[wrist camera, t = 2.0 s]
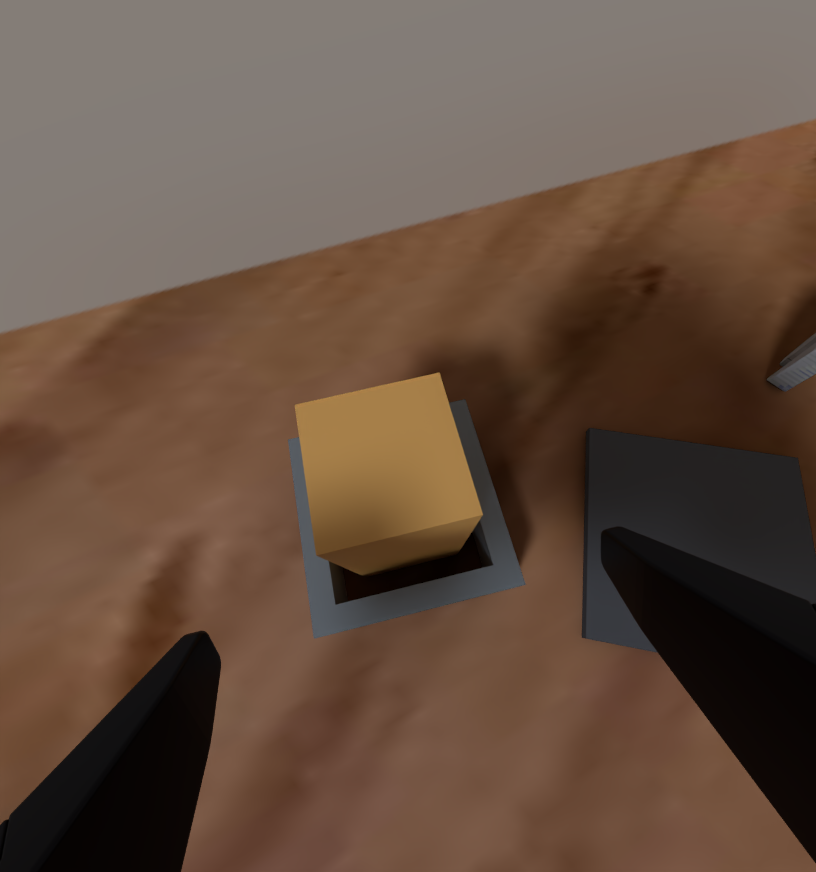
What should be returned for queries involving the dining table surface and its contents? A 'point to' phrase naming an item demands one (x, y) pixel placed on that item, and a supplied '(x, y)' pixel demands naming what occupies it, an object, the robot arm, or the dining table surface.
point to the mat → (692, 517)
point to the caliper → (796, 366)
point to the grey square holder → (495, 576)
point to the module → (386, 476)
